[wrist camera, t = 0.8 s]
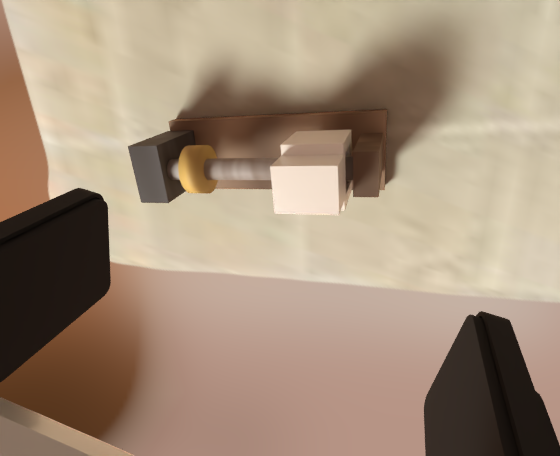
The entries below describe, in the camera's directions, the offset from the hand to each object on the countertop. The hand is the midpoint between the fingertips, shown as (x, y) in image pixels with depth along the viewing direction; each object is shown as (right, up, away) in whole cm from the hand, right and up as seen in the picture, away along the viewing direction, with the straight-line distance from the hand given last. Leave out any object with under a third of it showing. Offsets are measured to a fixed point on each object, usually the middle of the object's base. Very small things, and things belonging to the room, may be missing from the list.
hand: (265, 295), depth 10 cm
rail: (0, +8, +24) cm, 25 cm away
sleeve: (+4, +7, +19) cm, 21 cm away
